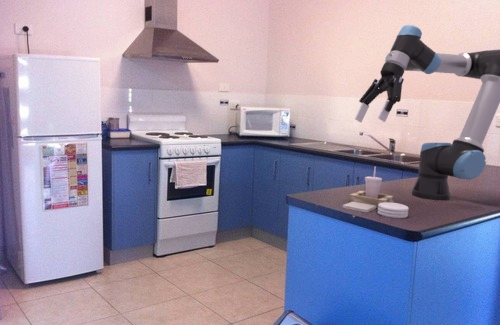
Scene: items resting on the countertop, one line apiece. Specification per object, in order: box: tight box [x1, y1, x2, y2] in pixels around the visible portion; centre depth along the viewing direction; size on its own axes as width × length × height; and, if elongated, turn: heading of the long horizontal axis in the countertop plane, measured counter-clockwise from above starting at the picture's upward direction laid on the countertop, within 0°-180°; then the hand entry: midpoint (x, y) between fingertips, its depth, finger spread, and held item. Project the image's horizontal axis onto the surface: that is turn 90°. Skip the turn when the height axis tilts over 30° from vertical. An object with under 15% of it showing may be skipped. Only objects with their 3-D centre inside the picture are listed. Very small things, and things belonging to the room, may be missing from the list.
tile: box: [342, 202, 377, 213], centre depth 163 cm, size 9×9×1 cm
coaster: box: [377, 202, 410, 219], centre depth 157 cm, size 10×10×4 cm
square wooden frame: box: [348, 190, 395, 209], centre depth 174 cm, size 13×13×3 cm
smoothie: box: [364, 166, 383, 198], centre depth 173 cm, size 6×6×14 cm
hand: (369, 120), depth 159 cm, fingers open, 13 cm apart
